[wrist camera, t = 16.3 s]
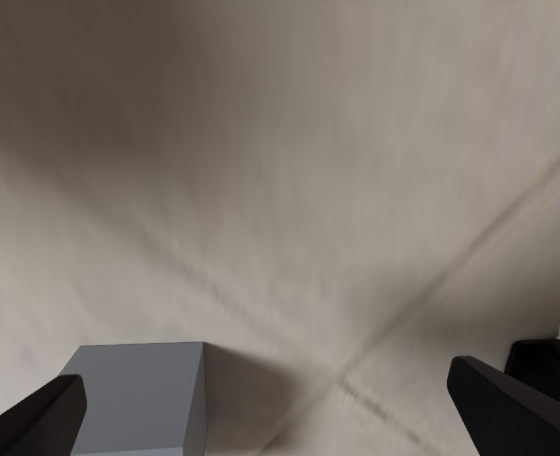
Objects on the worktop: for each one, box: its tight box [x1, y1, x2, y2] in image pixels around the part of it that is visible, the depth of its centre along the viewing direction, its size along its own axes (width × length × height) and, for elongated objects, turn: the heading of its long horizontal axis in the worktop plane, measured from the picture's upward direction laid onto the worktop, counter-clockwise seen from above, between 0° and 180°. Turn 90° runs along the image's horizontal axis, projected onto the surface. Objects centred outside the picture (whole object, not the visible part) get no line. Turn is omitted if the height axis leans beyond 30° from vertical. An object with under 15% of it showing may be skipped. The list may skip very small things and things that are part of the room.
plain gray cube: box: [57, 342, 208, 456], centre depth 19 cm, size 8×8×7 cm
